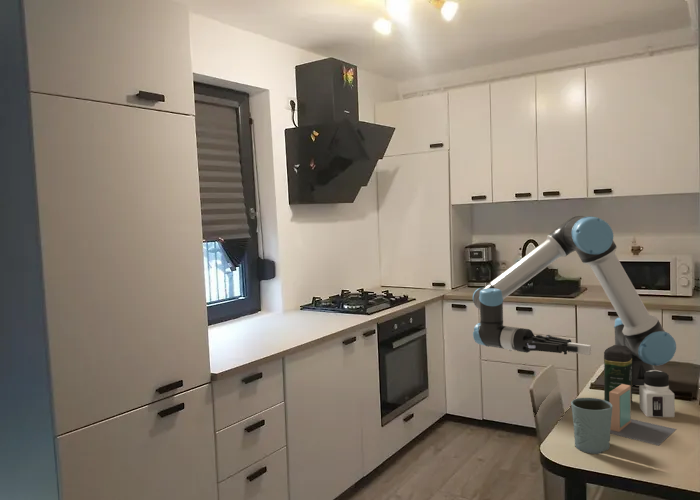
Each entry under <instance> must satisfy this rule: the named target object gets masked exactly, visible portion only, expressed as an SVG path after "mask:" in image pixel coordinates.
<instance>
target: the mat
mask: <svg viewBox="0 0 700 500" xmlns="http://www.w3.org/2000/svg"><path fill="white" fill-rule="evenodd" d="M676 430H677V428H673V427H670V426H664V425H660V424H656V423H650V422H647V421H643V420H637V419H633V418H631V423H629V424H628V425H627V426H626V427H624V428H623V429H622V430H620V431H619V432H617V431H613V430H610V435H614V436H618V437H623V438H626V439H631V440H634V441H639V442H643V443H647V444H650V445H655V446H660V445H662V443H663V442H665V441H666V440H667V439H668V438H669V437H670V436H671V435H672V434H673V433H674V432H675V431H676Z"/></svg>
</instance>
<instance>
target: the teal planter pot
mask: <svg viewBox="0 0 700 500" xmlns="http://www.w3.org/2000/svg"><path fill="white" fill-rule="evenodd" d="M570 404H571V413H572V421H573V422H572V423H573V436H574V445H575V448H576V449H577V450H579V451H580V452H583V453H586V454H593V455H600V454H603V452H605V451H608V450H609V449H610V447H611V446H610V443H611V442H610V441H611V434H610V428H611V417H612V407H613V406H612V404H611V403H610V402H608V401H605V400H604V399H601V398H597V397H579V398H575V399H573V400H571V402H570Z"/></svg>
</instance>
